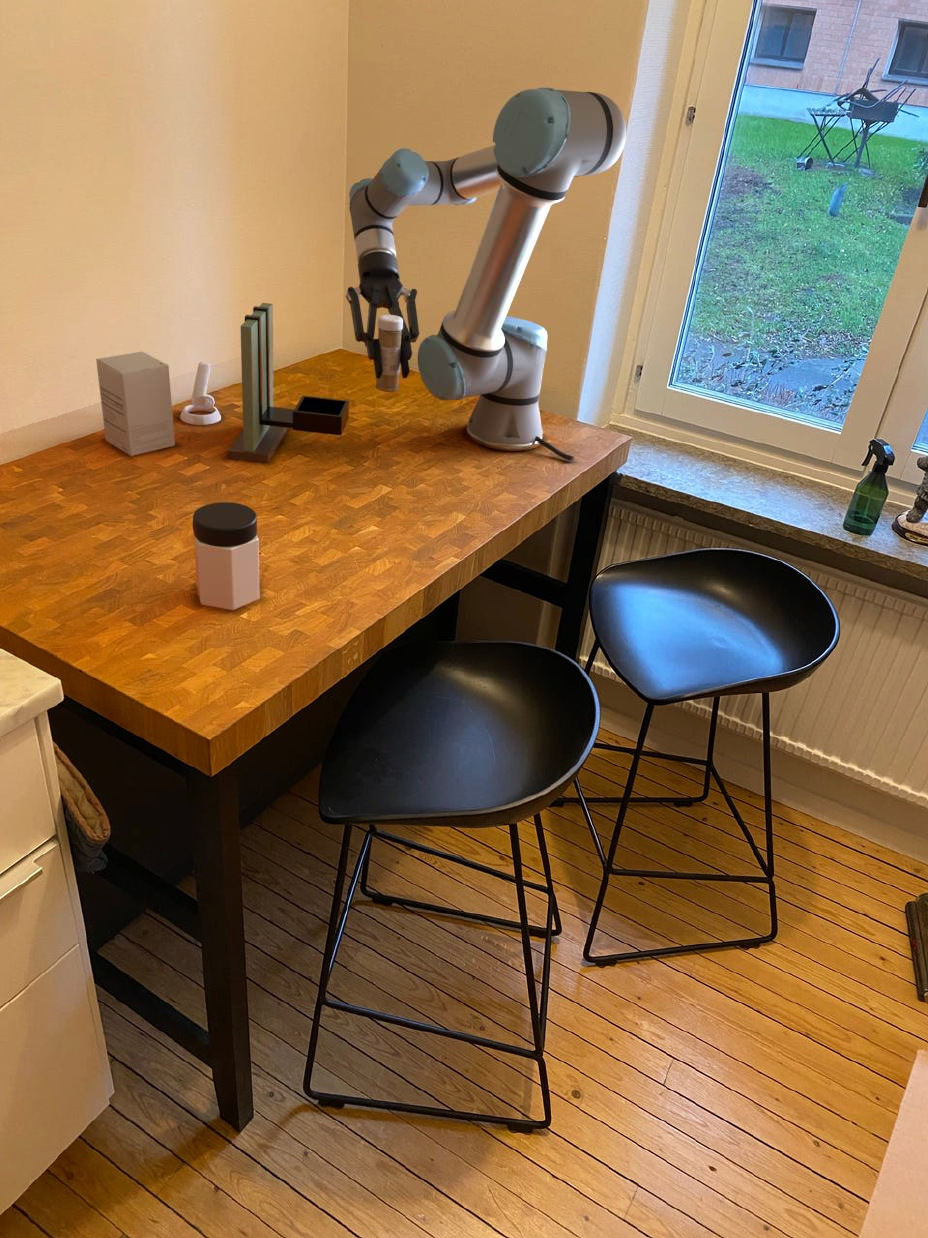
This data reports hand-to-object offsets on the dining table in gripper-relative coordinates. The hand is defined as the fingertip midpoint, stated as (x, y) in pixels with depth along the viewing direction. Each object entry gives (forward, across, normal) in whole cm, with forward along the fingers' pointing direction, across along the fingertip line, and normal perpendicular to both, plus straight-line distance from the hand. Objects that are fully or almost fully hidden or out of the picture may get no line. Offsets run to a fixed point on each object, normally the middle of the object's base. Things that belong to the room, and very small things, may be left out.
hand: (392, 374), depth 173 cm
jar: (+46, +35, +27) cm, 64 cm away
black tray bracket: (+7, +18, -5) cm, 19 cm away
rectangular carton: (+8, +45, -11) cm, 47 cm away
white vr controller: (-1, +34, -20) cm, 39 cm away
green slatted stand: (+9, +24, -10) cm, 28 cm away
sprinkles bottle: (0, 0, -6) cm, 6 cm away
